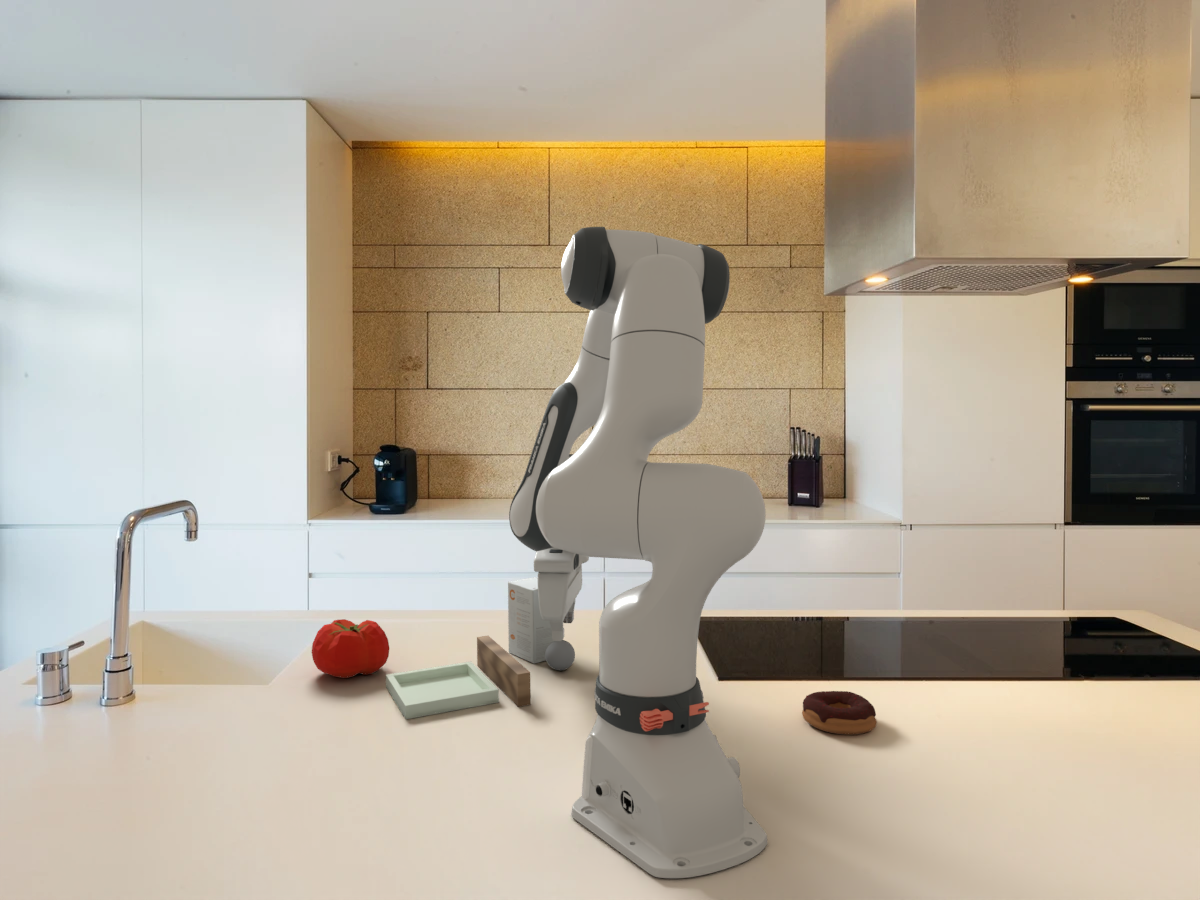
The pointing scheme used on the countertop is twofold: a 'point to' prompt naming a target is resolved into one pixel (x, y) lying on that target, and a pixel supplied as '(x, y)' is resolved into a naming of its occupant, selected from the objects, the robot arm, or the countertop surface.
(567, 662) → the ball
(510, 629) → the small box
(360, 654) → the tomato
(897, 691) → the countertop surface
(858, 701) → the donut
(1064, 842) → the countertop surface
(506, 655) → the rail
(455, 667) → the dish
